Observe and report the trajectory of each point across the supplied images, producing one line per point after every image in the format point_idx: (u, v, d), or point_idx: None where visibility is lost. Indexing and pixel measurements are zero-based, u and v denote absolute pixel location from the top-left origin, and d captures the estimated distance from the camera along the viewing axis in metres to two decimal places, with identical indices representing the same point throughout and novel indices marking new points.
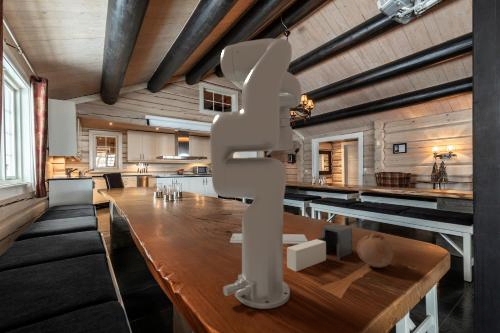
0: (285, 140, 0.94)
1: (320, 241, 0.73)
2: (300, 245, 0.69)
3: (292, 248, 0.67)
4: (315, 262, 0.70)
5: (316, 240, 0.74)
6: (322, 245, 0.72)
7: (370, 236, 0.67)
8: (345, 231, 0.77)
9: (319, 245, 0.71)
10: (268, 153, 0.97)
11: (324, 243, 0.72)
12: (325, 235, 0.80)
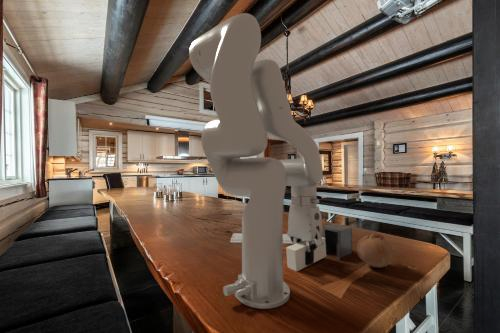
0: None
1: None
2: (299, 244, 0.69)
3: (291, 248, 0.66)
4: (315, 259, 0.70)
5: None
6: None
7: (370, 236, 0.67)
8: (345, 231, 0.77)
9: None
10: None
11: (323, 239, 0.72)
12: (325, 235, 0.80)
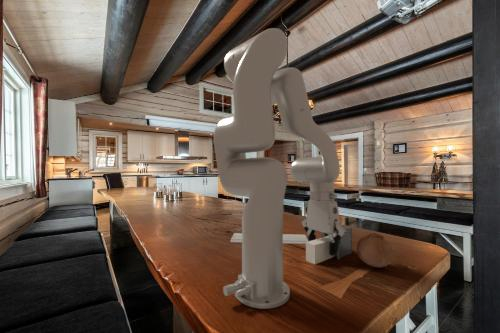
0: None
1: None
2: (317, 240, 0.74)
3: (311, 242, 0.72)
4: (331, 256, 0.75)
5: None
6: None
7: (370, 236, 0.67)
8: None
9: None
10: None
11: None
12: (325, 235, 0.80)
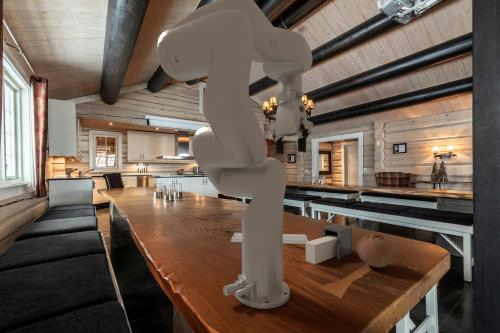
0: None
1: (336, 236, 0.78)
2: (317, 240, 0.74)
3: (311, 242, 0.72)
4: (331, 256, 0.75)
5: (332, 236, 0.79)
6: (337, 240, 0.77)
7: (370, 236, 0.67)
8: (345, 231, 0.77)
9: (335, 240, 0.76)
10: None
11: None
12: (325, 235, 0.80)
